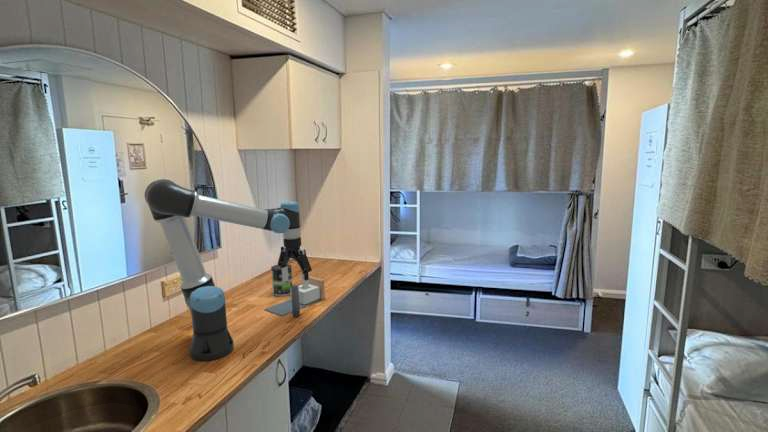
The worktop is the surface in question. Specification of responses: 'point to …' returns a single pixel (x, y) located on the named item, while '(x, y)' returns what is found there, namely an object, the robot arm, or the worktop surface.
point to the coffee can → (281, 281)
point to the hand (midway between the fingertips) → (295, 284)
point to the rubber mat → (286, 307)
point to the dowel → (295, 300)
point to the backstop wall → (318, 283)
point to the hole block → (308, 294)
